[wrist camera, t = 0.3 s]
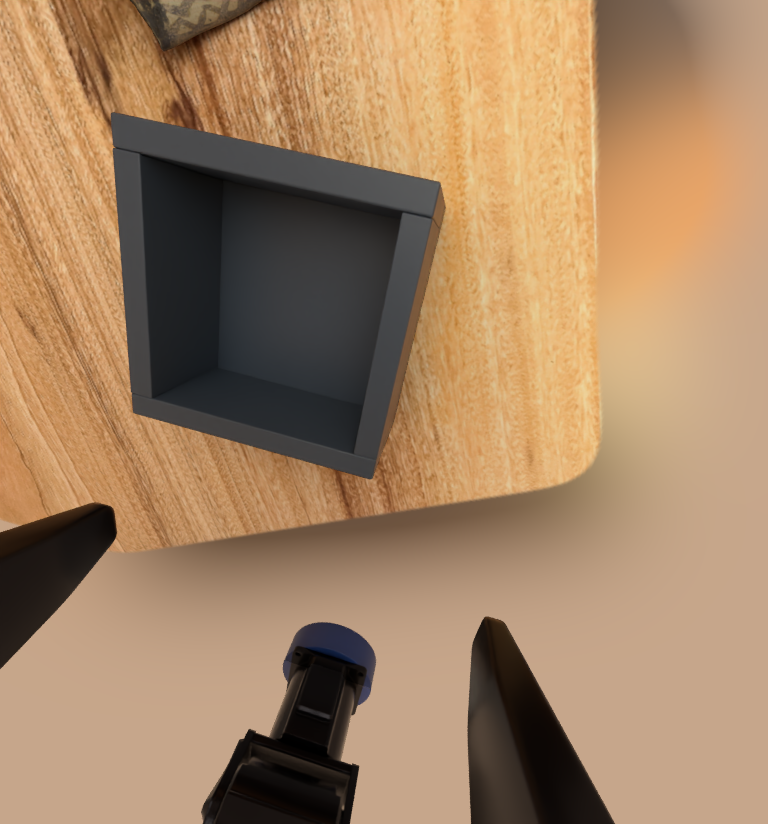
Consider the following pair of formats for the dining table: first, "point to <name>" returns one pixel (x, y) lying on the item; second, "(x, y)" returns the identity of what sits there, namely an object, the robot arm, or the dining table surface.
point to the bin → (269, 289)
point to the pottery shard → (188, 17)
